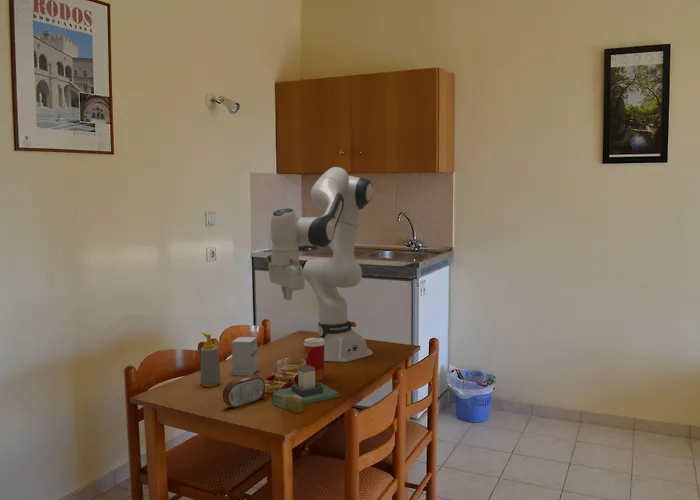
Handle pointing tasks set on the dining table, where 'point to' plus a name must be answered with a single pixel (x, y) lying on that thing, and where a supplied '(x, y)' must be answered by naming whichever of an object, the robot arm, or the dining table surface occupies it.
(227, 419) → the dining table surface
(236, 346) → the supplement box
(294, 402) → the medication box
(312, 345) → the paper cup
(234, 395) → the tin
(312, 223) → the robot arm
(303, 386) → the plug
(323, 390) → the board
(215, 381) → the soap bottle
